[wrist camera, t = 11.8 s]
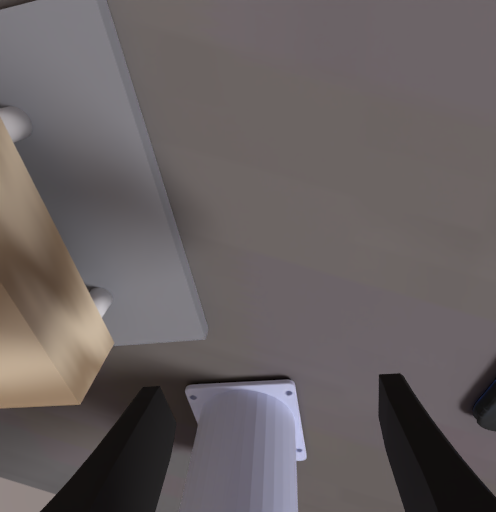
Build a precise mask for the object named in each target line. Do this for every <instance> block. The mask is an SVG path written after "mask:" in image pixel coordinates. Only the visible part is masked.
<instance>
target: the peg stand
mask: <svg viewBox="0 0 496 512" xmlns="http://www.w3.org/2000/svg"><path fill="white" fill-rule="evenodd" d="M0 117H1V119H2V121H3V123H4V125H5V127H6V129H7V131H8V133H9V135H10V137H11V139H12V141H13V143H14V145H15V147H16V149H17V151H18V153H19V155H20V157H21V159H22V161H23V163H24V165H25V167H26V169H27V171H28V173H29V175H30V177H31V179H32V181H33V183H34V185H35V187H36V189H37V191H38V192H39V194H40V196H41V198H42V200H43V202H44V204H45V206H46V208H47V210H48V212H49V214H50V216H51V218H52V220H53V222H54V224H55V226H56V228H57V230H58V232H59V234H60V236H61V238H62V240H63V242H64V244H65V246H66V248H67V250H68V252H69V254H70V256H71V258H72V260H73V262H74V264H75V266H76V268H77V270H78V272H79V274H80V276H81V278H82V280H83V282H84V284H85V286H86V288H87V290H88V292H89V294H90V296H91V298H92V299H93V301H94V303H95V305H96V307H97V309H98V311H99V313H100V315H101V317H102V319H103V321H104V323H105V325H106V327H107V329H108V331H109V333H110V335H111V337H112V339H113V341H114V345H113V346H123V345H136V344H150V343H163V342H177V341H190V340H204V339H206V336H207V332H208V325H207V322H206V319H205V315H204V312H203V309H202V306H201V302H200V299H199V296H198V293H197V290H196V286H195V283H194V280H193V277H192V273H191V270H190V267H189V264H188V261H187V257H186V254H185V251H184V248H183V245H182V241H181V238H180V235H179V232H178V228H177V225H176V222H175V219H174V216H173V212H172V209H171V206H170V203H169V199H168V196H167V193H166V190H165V187H164V183H163V180H162V177H161V174H160V171H159V167H158V164H157V161H156V158H155V154H154V151H153V148H152V145H151V142H150V138H149V135H148V132H147V129H146V125H145V122H144V119H143V116H142V113H141V109H140V106H139V103H138V100H137V97H136V93H135V90H134V87H133V84H132V80H131V77H130V74H129V71H128V68H127V64H126V61H125V58H124V55H123V51H122V48H121V45H120V42H119V39H118V35H117V32H116V29H115V26H114V23H113V19H112V16H111V13H110V10H109V6H108V3H107V0H36V1H32V2H29V3H25V4H21V5H17V6H13V7H9V8H5V9H1V10H0Z"/></svg>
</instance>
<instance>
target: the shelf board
mask: <svg viewBox="0 0 496 512" xmlns="http://www.w3.org/2000/svg"><path fill="white" fill-rule="evenodd" d="M113 345H114V341H113V339H112V337H111V335H110V333H109V331H108V329H107V327H106V325H105V323H104V321H103V319H102V317H101V315H100V313H99V311H98V309H97V307H96V305H95V303H94V301H93V299H92V298H91V296H90V294H89V292H88V290H87V288H86V286H85V284H84V282H83V280H82V278H81V276H80V274H79V272H78V270H77V268H76V266H75V264H74V262H73V260H72V258H71V256H70V254H69V252H68V250H67V248H66V246H65V244H64V242H63V240H62V238H61V236H60V234H59V232H58V230H57V228H56V226H55V224H54V222H53V220H52V218H51V216H50V214H49V212H48V210H47V208H46V206H45V204H44V202H43V200H42V198H41V196H40V194H39V192H38V191H37V189H36V187H35V185H34V183H33V181H32V179H31V177H30V175H29V173H28V171H27V169H26V167H25V165H24V163H23V161H22V159H21V157H20V155H19V153H18V151H17V149H16V147H15V145H14V143H13V141H12V139H11V137H10V135H9V133H8V131H7V129H6V127H5V125H4V123H3V121H2V119H1V117H0V408H19V407H40V406H61V405H80V404H81V402H82V401H83V399H84V397H85V395H86V393H87V392H88V390H89V388H90V386H91V384H92V383H93V381H94V379H95V377H96V375H97V374H98V372H99V370H100V368H101V366H102V365H103V363H104V361H105V359H106V357H107V356H108V354H109V352H110V350H111V348H112V347H113Z"/></svg>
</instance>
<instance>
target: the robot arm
mask: <svg viewBox="0 0 496 512" xmlns="http://www.w3.org/2000/svg"><path fill="white" fill-rule="evenodd" d="M185 394H186V396H187V399H188V401H189V404H190V406H191V409H192V411H193V414H194V416H195V419H196V421H197V424H198V427H197V432H196V436H195V441H194V445H193V450H192V454H191V459H190V464H189V468H188V473H187V477H186V482H185V486H184V491H183V496H182V500H181V505H180V509H179V512H298V497H297V468H296V461H302V460H305V459H306V449H305V442H304V436H303V430H302V424H301V418H300V412H299V406H298V400H297V394H296V388H295V383H294V382H293V381H292V380H288V379H286V380H267V381H248V382H229V383H211V384H192V385H188V386H187V387H186V389H185ZM379 421H380V425H381V430H382V435H383V439H384V444H385V448H386V452H387V456H388V459H389V462H390V465H391V468H392V471H393V475H394V478H395V481H396V484H397V487H398V490H399V493H400V497H401V500H402V503H403V506H404V509H405V512H496V497H495V496H494V495H493V494H492V492H491V491H490V490H489V489H488V488H487V487H486V486H485V485H484V483H483V482H482V481H481V480H480V479H479V478H478V476H477V475H476V474H475V473H474V472H473V471H472V469H471V468H470V467H469V466H468V465H467V463H466V462H465V461H464V460H463V459H462V457H461V456H460V455H459V454H458V452H457V451H456V450H455V449H454V447H453V446H452V445H451V444H450V442H449V441H448V440H447V438H446V437H445V436H444V434H443V433H442V432H441V431H440V429H439V428H438V427H437V425H436V424H435V423H434V421H433V420H432V419H431V417H430V416H429V414H428V413H427V412H426V410H425V409H424V407H423V406H422V404H421V403H420V401H419V400H418V398H417V397H416V395H415V394H414V392H413V391H412V389H411V388H410V386H409V385H408V383H407V381H406V380H405V378H404V376H403V375H401V374H400V373H399V374H380V375H379ZM175 429H176V421H175V419H174V417H173V415H172V412H171V410H170V408H169V406H168V404H167V401H166V399H165V397H164V395H163V393H162V390H161V388H160V386H154V387H143V388H142V389H141V390H140V392H139V393H138V394H137V395H136V397H135V398H134V399H133V401H132V402H131V403H130V405H129V406H128V407H127V409H126V410H125V411H124V413H123V414H122V415H121V417H120V418H119V419H118V421H117V422H116V423H115V425H114V426H113V427H112V429H111V430H110V431H109V432H108V434H107V435H106V436H105V437H104V439H103V440H102V441H101V443H100V444H99V445H98V446H97V448H96V449H95V450H94V451H93V453H92V454H91V455H90V456H89V457H88V459H87V460H86V461H85V462H84V463H83V465H82V466H81V467H80V468H79V469H78V470H77V472H76V473H75V474H74V475H73V476H72V478H71V479H70V480H69V481H68V482H67V483H66V484H65V485H64V487H63V488H62V489H61V490H60V491H59V492H58V493H57V494H56V495H55V496H54V498H53V499H52V500H51V501H50V502H49V503H48V504H47V505H46V506H45V507H44V508H43V509H42V510H41V511H40V512H155V510H156V507H157V503H158V500H159V496H160V493H161V489H162V486H163V482H164V479H165V475H166V472H167V468H168V465H169V461H170V457H171V453H172V447H173V442H174V435H175Z"/></svg>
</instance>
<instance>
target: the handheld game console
mask: <svg viewBox="0 0 496 512" xmlns="http://www.w3.org/2000/svg"><path fill="white" fill-rule="evenodd" d="M473 416H474V417H475V418H476V419H477V423H478V424H479V425H480V426H481V427H483V428H485V429H487V430H491V431H496V380H495V381H494V382H493V383H492V385H491V386H490V387H489V388H488V389H487V390H486V392H485V393H484V394H483V395H482V396H481V398H480V399H479V400H478V401H477V403H476V404H475V405H474V408H473Z"/></svg>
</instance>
